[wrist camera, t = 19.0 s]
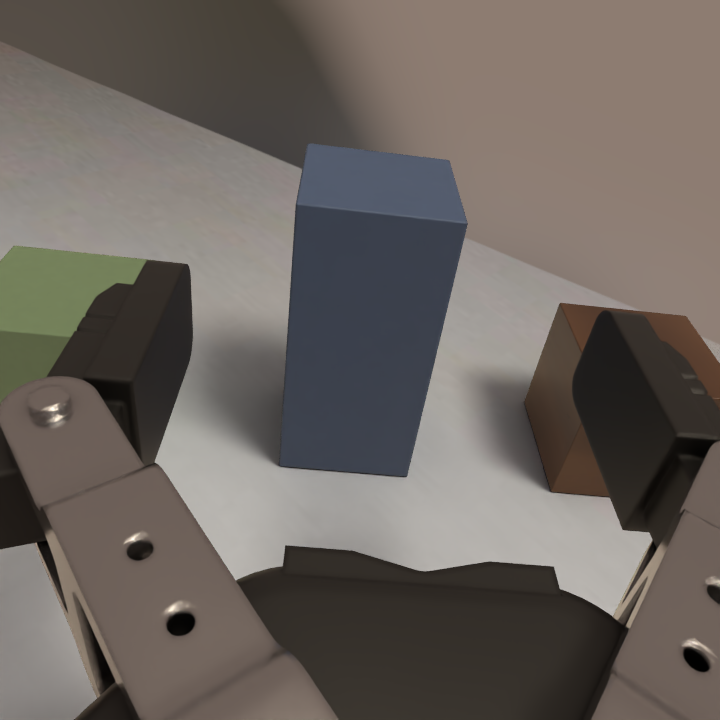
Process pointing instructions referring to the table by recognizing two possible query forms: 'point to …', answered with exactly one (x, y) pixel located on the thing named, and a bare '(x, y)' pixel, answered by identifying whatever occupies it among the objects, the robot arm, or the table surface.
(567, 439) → the block
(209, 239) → the table surface
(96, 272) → the block
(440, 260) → the tall block
